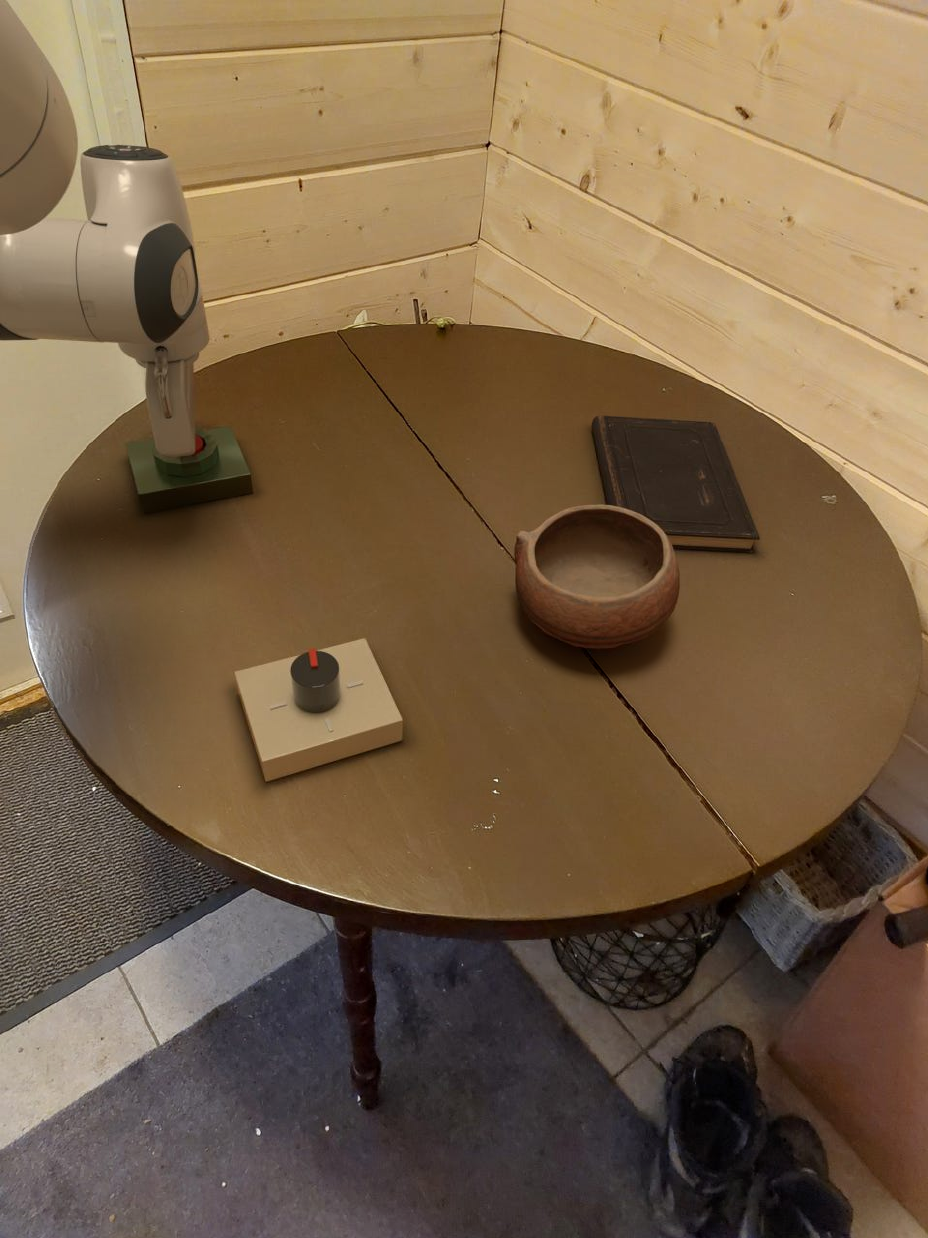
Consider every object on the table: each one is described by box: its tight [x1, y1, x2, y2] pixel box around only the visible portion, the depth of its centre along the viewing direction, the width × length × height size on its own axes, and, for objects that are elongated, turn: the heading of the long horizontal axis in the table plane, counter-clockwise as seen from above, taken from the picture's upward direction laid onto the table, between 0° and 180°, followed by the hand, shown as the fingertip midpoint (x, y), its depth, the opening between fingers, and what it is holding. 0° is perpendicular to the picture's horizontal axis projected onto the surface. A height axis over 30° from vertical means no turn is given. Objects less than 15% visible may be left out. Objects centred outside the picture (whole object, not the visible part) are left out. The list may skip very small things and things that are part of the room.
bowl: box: [513, 504, 681, 649], centre depth 81 cm, size 16×16×10 cm
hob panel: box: [234, 637, 404, 783], centre depth 72 cm, size 12×10×3 cm
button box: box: [125, 425, 254, 515], centre depth 94 cm, size 12×10×4 cm
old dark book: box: [591, 414, 761, 554], centre depth 100 cm, size 16×23×2 cm
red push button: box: [182, 435, 204, 457], centre depth 92 cm, size 4×4×2 cm
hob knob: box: [290, 648, 341, 713], centre depth 70 cm, size 4×4×4 cm
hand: (185, 442), depth 92 cm, fingers closed, pressing on red push button
